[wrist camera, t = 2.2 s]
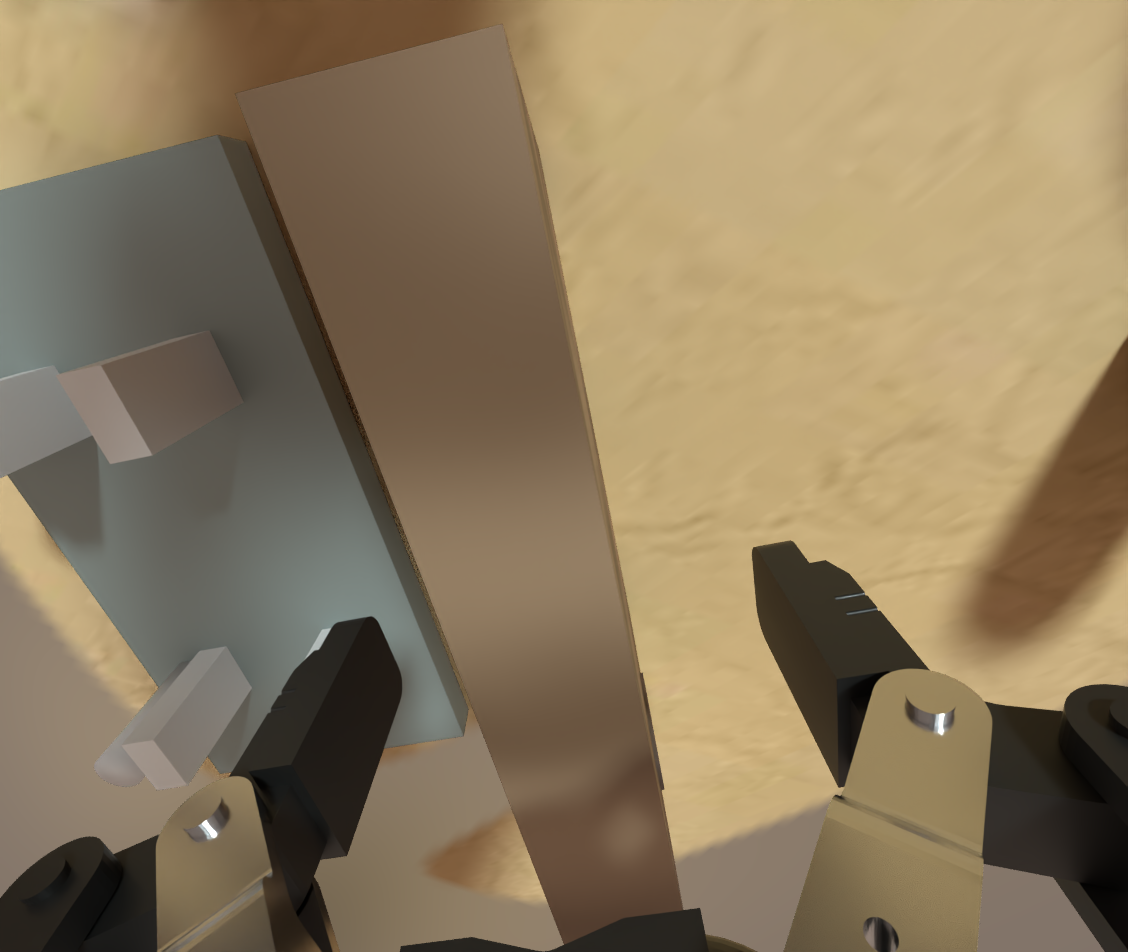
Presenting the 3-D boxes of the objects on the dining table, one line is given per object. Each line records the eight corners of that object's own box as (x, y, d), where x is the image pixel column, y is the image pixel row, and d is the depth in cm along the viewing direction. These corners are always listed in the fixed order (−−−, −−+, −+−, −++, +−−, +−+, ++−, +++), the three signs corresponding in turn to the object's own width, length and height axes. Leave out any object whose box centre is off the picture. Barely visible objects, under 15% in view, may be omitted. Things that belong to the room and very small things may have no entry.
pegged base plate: (-109, 231, 17) (-416, 237, 12) (245, 141, 16) (89, 103, 11) (236, 746, 27) (156, 877, 22) (468, 709, 26) (444, 836, 21)
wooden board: (440, 174, 17) (227, 95, 6) (542, 150, 17) (512, 21, 6) (561, 625, 24) (563, 953, 13) (632, 613, 24) (692, 937, 13)
